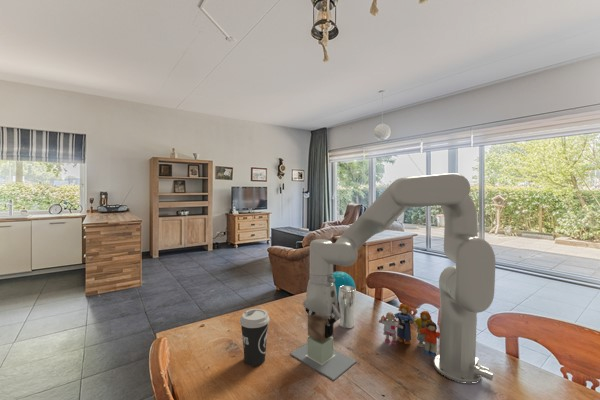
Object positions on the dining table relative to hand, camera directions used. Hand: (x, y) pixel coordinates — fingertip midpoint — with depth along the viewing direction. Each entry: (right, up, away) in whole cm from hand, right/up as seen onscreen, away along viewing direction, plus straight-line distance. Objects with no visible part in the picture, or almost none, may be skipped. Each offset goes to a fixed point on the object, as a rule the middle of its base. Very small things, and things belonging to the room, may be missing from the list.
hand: (320, 332), depth 90 cm
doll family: (+33, -8, +9) cm, 35 cm away
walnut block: (0, -1, 0) cm, 1 cm away
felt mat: (+1, -8, 0) cm, 8 cm away
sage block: (0, -8, 0) cm, 8 cm away
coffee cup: (-21, -8, -1) cm, 23 cm away
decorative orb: (+13, -7, +44) cm, 46 cm away
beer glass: (+12, -8, +22) cm, 26 cm away
